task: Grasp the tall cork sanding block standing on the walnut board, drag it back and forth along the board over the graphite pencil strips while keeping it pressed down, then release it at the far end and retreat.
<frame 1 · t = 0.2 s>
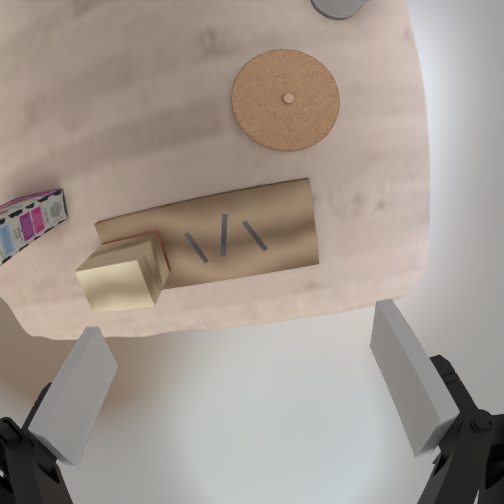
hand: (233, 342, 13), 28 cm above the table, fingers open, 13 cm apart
sanding block: (136, 255, 41), point 1 cm above the table, touching board
travel mug: (334, 0, 27), on the table
lidded jar: (279, 103, 34), on the table
candy bar box: (40, 206, 38), on the table
board: (203, 241, 41), on the table
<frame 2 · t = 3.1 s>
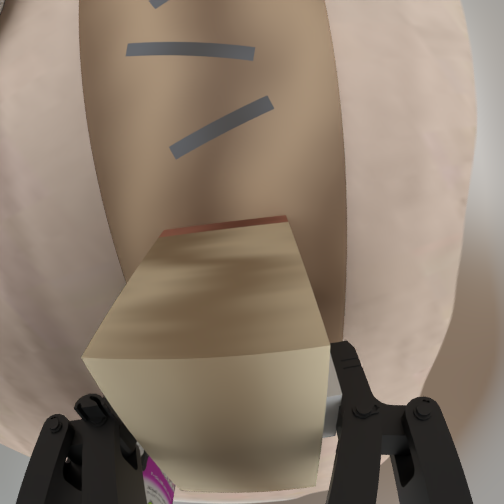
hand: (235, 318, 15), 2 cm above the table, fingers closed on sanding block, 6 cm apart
sanding block: (236, 301, 16), point 1 cm above the table, touching board, gripper
candy bar box: (147, 429, 24), on the table
board: (208, 107, 13), on the table
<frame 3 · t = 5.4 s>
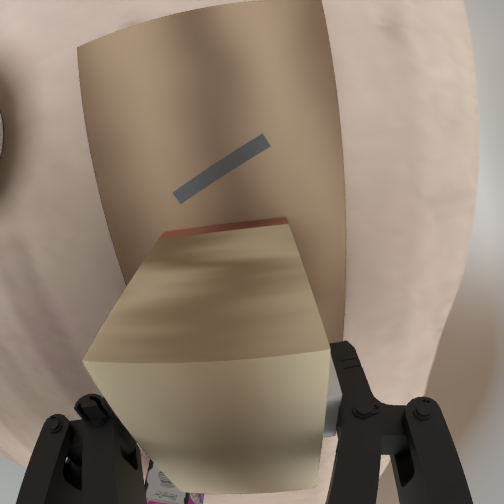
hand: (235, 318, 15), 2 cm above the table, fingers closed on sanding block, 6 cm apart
sanding block: (236, 302, 16), point 1 cm above the table, touching gripper
candy bar box: (180, 470, 28), on the table
board: (236, 292, 17), on the table
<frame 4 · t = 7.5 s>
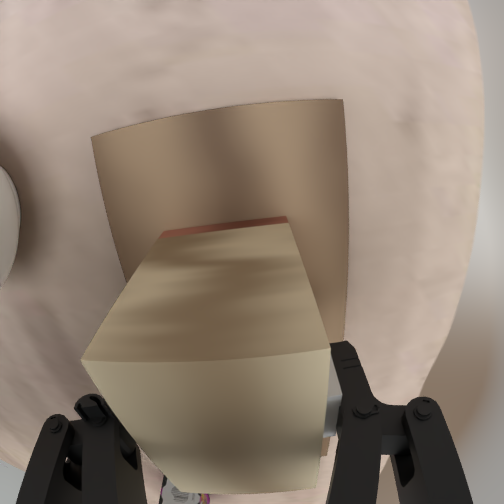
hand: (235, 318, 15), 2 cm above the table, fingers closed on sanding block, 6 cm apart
sanding block: (236, 302, 16), point 1 cm above the table, touching gripper
candy bar box: (188, 484, 30), on the table
board: (248, 358, 19), on the table
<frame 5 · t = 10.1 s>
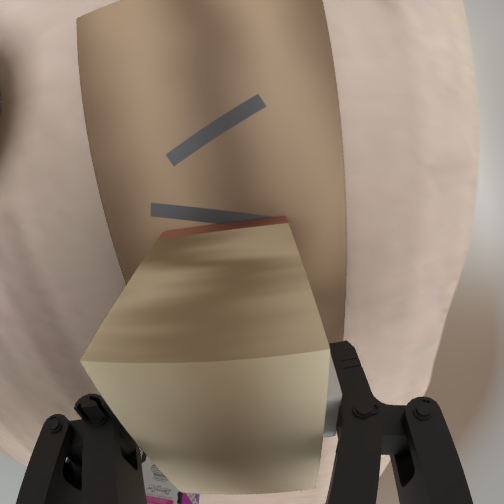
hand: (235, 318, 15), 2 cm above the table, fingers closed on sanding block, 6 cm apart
sanding block: (236, 302, 16), point 1 cm above the table, touching gripper
candy bar box: (175, 464, 27), on the table
board: (231, 263, 16), on the table
when the fingers open (2 cm above the table, at t = 11.9 s): sanding block stays where it is, resting on board.
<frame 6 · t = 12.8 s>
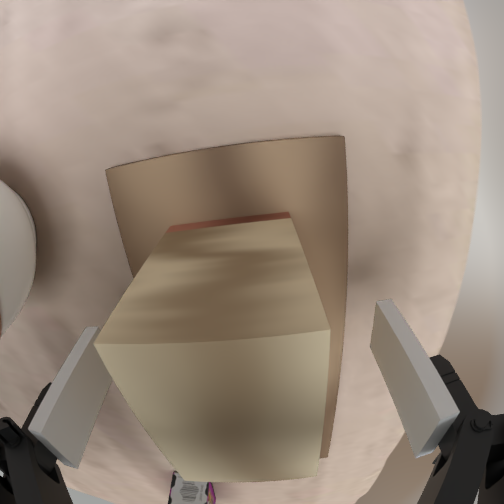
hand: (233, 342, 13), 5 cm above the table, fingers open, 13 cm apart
sanding block: (240, 295, 17), point 1 cm above the table, touching board
lidded jar: (9, 227, 16), on the table
candy bar box: (195, 485, 31), on the table
board: (255, 370, 20), on the table
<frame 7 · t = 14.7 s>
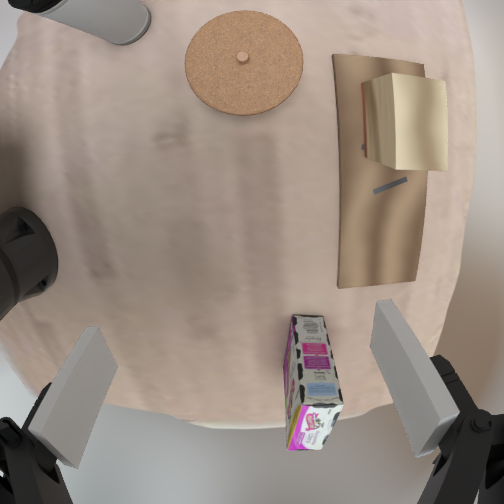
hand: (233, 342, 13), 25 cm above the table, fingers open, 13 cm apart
sanding block: (386, 121, 31), point 1 cm above the table, touching board
travel mug: (128, 23, 27), on the table
lidded jar: (247, 73, 30), on the table
candy bar box: (301, 342, 45), on the table
board: (384, 176, 34), on the table
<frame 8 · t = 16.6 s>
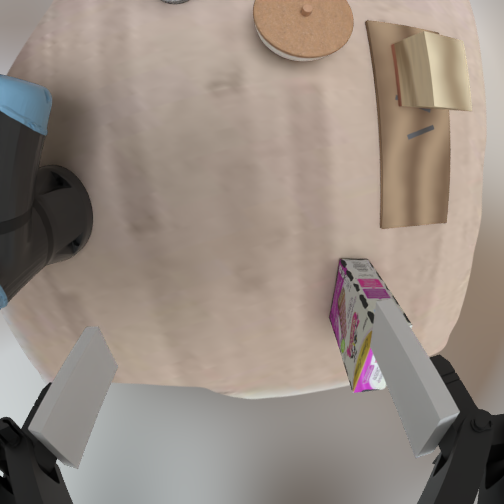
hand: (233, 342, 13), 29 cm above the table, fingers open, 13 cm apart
sanding block: (413, 77, 31), point 1 cm above the table, touching board
lidded jar: (294, 32, 30), on the table
candy bar box: (346, 289, 46), on the table
board: (415, 124, 35), on the table
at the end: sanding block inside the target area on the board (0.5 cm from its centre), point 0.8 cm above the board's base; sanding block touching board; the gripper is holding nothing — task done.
